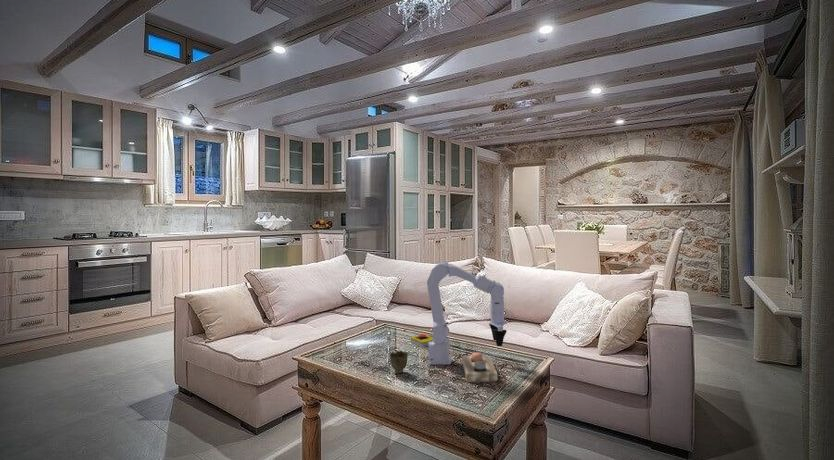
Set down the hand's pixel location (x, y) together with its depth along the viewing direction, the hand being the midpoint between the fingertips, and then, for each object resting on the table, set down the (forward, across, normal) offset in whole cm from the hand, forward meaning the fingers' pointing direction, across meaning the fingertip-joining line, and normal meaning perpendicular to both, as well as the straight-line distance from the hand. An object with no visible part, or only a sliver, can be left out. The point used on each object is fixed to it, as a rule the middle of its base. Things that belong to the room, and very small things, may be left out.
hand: (497, 343), depth 171 cm
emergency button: (+10, +31, +32) cm, 46 cm away
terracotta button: (+7, -2, +9) cm, 12 cm away
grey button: (+7, -12, +9) cm, 17 cm away
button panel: (+10, -7, +9) cm, 15 cm away
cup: (+10, -7, +42) cm, 44 cm away
